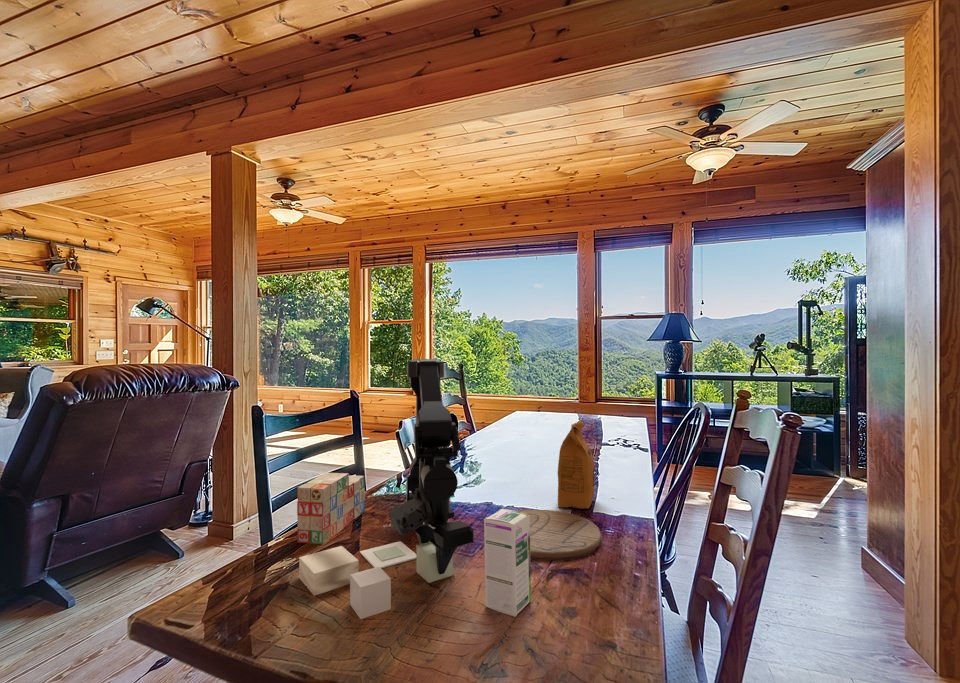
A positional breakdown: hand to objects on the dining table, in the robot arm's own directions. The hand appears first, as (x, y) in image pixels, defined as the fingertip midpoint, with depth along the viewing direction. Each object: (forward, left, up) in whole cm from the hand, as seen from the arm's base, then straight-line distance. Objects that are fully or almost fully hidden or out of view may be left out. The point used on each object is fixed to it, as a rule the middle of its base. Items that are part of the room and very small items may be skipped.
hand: (434, 567), depth 86 cm
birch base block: (+17, -9, -1) cm, 19 cm away
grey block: (+14, +4, -1) cm, 15 cm away
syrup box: (-5, +16, -1) cm, 17 cm away
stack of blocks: (+9, -35, -1) cm, 36 cm away
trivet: (-29, -2, -2) cm, 29 cm away
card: (+4, -12, -1) cm, 13 cm away
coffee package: (-51, -13, -1) cm, 53 cm away
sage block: (0, 0, -1) cm, 1 cm away
